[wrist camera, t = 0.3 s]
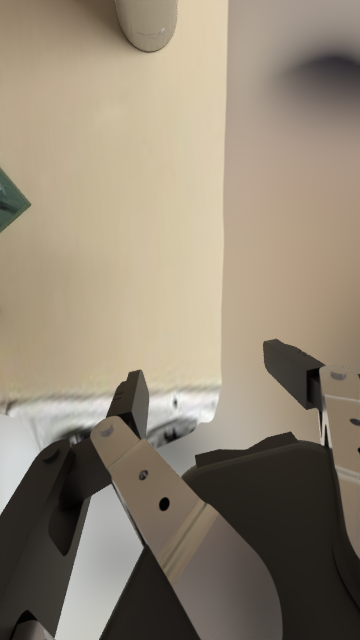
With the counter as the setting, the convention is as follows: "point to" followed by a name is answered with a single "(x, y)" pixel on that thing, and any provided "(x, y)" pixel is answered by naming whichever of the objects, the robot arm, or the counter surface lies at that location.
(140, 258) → the counter surface
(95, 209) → the counter surface
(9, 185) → the heatsink
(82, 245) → the counter surface
